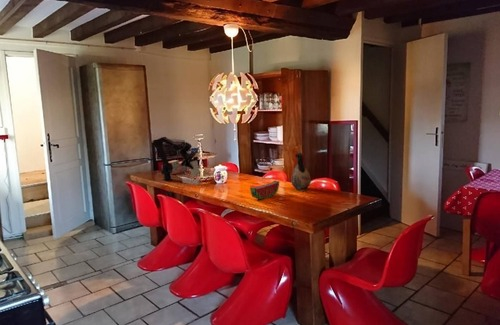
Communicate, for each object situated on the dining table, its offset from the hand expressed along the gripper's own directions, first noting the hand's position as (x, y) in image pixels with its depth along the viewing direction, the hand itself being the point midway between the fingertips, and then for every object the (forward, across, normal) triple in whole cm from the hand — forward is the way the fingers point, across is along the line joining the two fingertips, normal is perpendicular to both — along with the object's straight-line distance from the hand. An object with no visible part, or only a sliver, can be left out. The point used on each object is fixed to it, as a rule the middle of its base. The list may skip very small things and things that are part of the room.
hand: (195, 168), depth 324 cm
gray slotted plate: (+4, 0, +6) cm, 7 cm away
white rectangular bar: (+6, -3, +13) cm, 14 cm away
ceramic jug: (+76, +13, -57) cm, 96 cm away
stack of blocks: (-25, +30, +45) cm, 59 cm away
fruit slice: (+64, -16, -45) cm, 80 cm away
